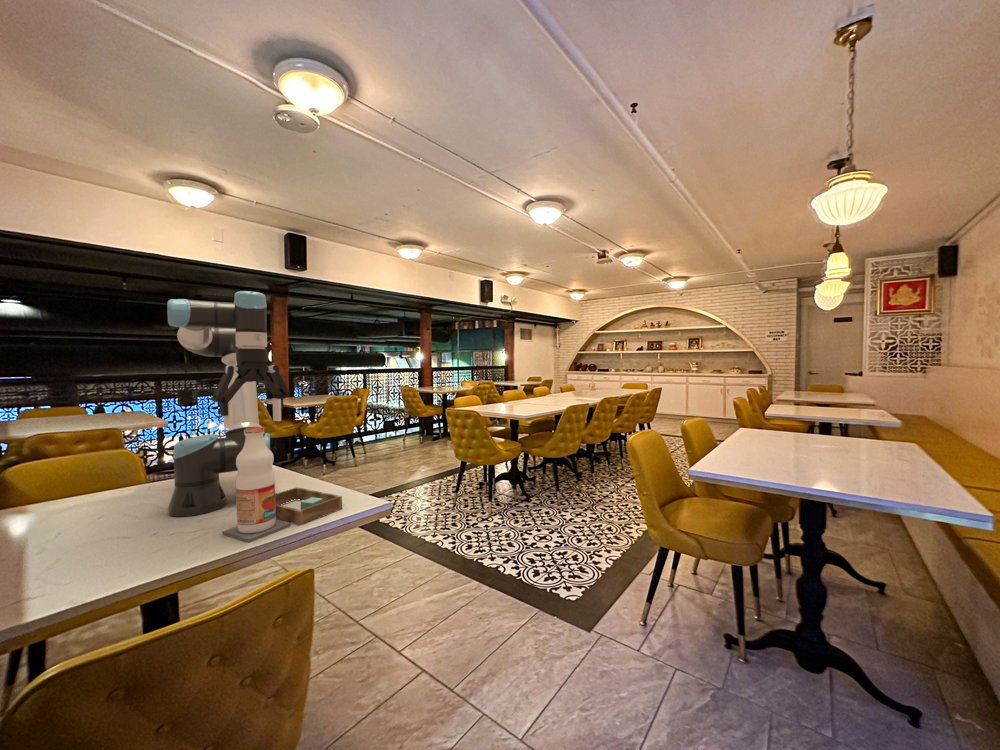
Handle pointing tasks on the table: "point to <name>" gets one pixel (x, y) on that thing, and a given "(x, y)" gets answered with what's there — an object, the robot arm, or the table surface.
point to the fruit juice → (255, 484)
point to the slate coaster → (254, 536)
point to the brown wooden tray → (309, 513)
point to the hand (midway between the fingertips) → (254, 424)
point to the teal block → (310, 502)
